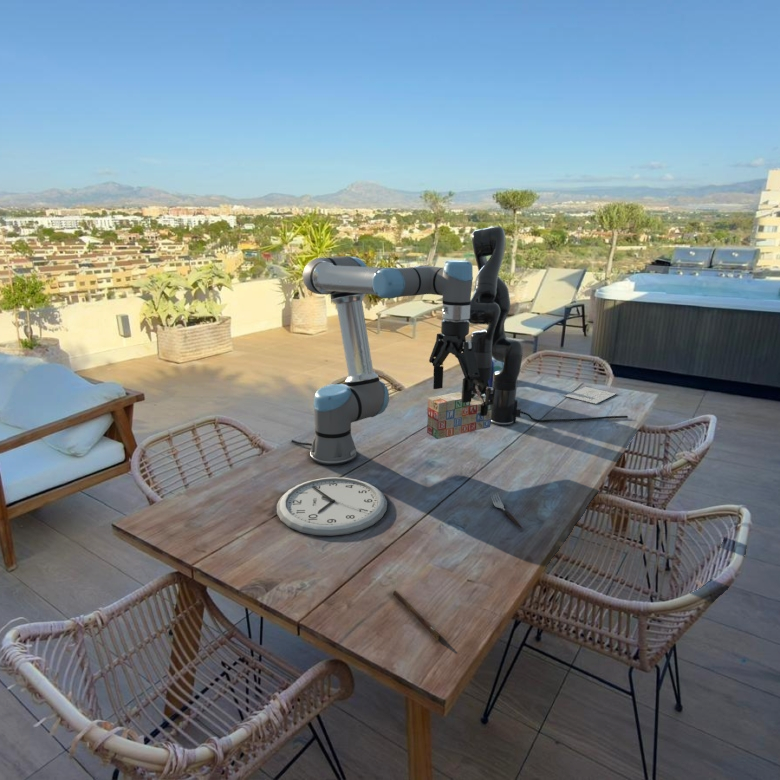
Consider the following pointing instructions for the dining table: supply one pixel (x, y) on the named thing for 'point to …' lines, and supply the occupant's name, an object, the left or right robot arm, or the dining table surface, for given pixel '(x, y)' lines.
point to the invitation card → (590, 395)
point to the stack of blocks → (455, 415)
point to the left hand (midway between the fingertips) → (451, 394)
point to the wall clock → (331, 506)
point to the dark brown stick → (416, 614)
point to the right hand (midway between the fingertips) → (477, 412)
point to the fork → (500, 505)
